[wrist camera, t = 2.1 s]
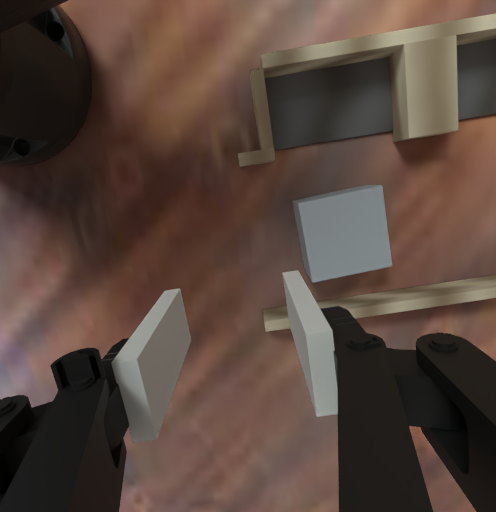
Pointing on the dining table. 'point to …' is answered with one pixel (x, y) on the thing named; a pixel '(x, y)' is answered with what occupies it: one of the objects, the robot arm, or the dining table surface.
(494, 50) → the box
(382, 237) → the block
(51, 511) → the robot arm
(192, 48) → the dining table surface
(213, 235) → the dining table surface
